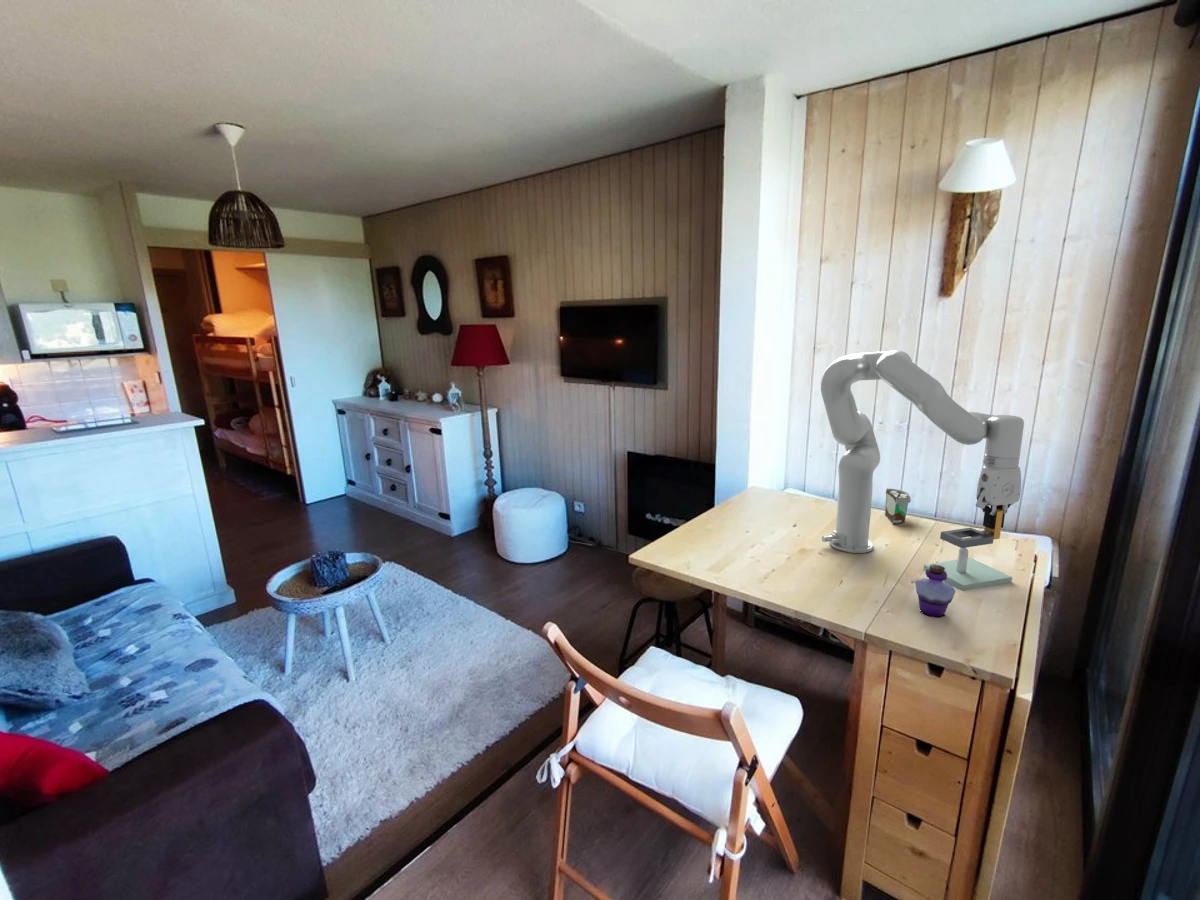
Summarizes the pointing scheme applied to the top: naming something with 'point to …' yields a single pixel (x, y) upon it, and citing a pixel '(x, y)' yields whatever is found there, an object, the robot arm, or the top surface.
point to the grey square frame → (974, 534)
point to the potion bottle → (934, 592)
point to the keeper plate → (970, 572)
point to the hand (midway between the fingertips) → (992, 526)
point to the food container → (896, 506)
